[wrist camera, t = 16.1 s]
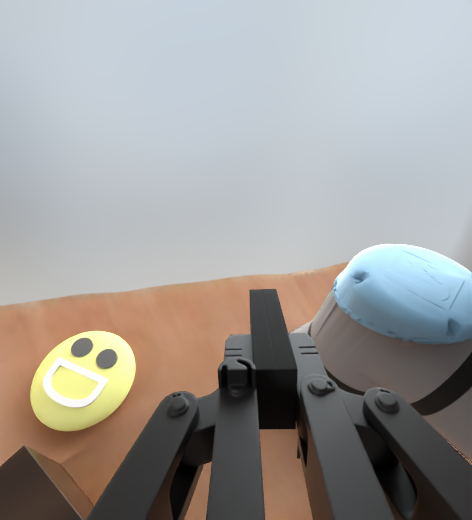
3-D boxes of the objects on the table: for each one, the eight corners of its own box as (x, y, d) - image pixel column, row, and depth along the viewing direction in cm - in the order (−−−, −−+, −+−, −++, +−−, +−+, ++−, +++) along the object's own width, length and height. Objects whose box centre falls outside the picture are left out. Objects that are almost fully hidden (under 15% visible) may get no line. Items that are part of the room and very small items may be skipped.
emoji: (90, 447, 29) (151, 344, 37) (-4, 402, 31) (73, 312, 38) (100, 451, 32) (154, 355, 40) (14, 410, 34) (82, 325, 41)
